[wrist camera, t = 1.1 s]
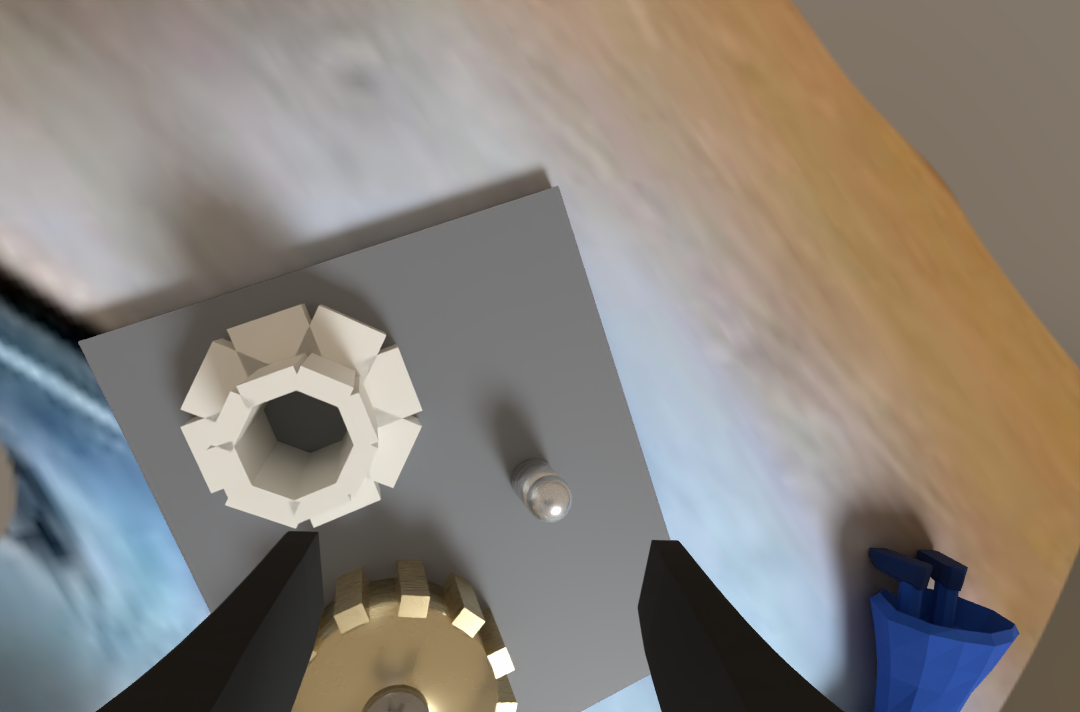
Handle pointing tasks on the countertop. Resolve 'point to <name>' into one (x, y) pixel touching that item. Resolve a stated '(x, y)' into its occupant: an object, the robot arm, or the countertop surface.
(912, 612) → the toy
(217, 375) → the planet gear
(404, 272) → the carrier plate
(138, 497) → the countertop surface
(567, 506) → the carrier pin
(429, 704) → the sun gear
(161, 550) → the countertop surface
